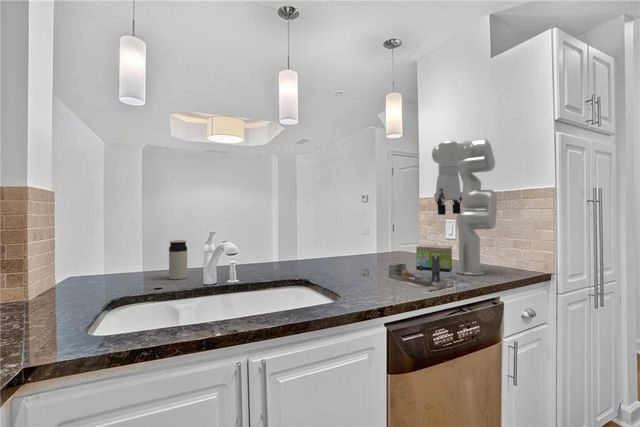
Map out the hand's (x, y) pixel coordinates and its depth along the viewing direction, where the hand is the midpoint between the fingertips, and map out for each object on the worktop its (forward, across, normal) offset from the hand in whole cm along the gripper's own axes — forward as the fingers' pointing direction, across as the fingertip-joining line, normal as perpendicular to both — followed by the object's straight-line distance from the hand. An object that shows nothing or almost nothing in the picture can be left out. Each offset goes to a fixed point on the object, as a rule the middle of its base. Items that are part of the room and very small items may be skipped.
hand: (449, 214), depth 131 cm
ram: (+28, +8, -4) cm, 29 cm away
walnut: (+28, +8, -17) cm, 34 cm away
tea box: (+31, -11, -17) cm, 37 cm away
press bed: (+30, +8, -11) cm, 33 cm away
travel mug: (+28, +92, -84) cm, 127 cm away
